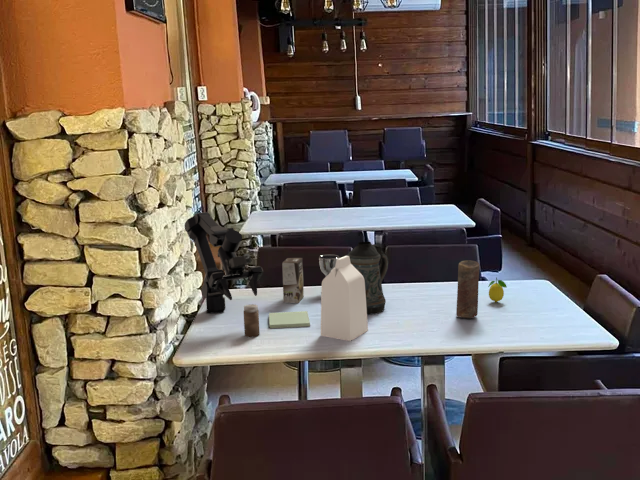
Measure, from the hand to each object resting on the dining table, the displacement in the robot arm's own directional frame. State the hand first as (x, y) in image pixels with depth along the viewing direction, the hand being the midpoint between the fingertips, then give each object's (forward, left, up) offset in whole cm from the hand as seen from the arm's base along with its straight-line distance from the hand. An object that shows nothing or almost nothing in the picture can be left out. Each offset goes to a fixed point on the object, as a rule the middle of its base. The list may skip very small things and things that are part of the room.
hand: (243, 297), depth 243 cm
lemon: (+94, +18, -12) cm, 97 cm away
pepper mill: (+2, -5, -12) cm, 13 cm away
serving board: (+15, +8, -12) cm, 21 cm away
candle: (+78, +2, -12) cm, 79 cm away
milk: (+33, -8, -12) cm, 36 cm away
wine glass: (+33, +43, -12) cm, 56 cm away
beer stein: (+44, +20, -12) cm, 50 cm away
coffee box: (+18, +35, -12) cm, 41 cm away
